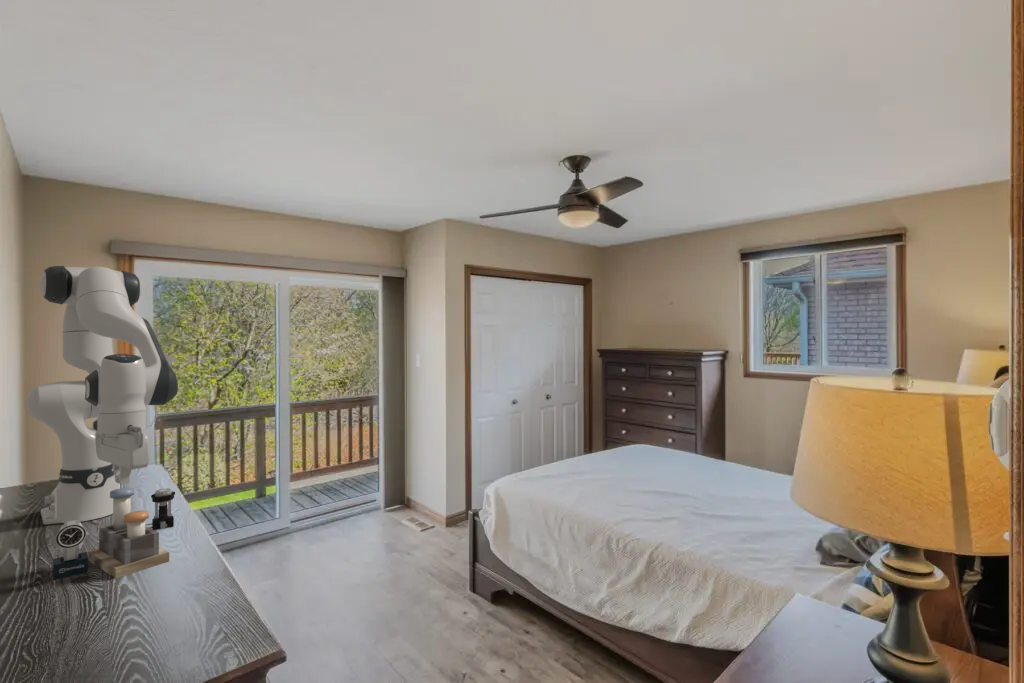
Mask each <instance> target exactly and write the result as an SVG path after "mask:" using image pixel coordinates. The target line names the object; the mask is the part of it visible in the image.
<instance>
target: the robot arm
mask: <svg viewBox="0 0 1024 683" xmlns="http://www.w3.org/2000/svg"><path fill="white" fill-rule="evenodd" d="M38 282H39V283H38V286H39V290H40V292H41V294H42V297H43V298H44V299H45V300H46V301H47V302H49V303H53V304H57V305H64V304H65V305H66V306H65V311H64V316H63V321H62V358H63V361H64V362H65V363H67V364H68V365H70V366H72V367H74V368H77V369H80V370H83V371H85V372H87V373H88V375H87V376H86V377H85V378H84V380H69V381H68V380H67V381H55V382H49V383H44V384H39V385H36V386H34V387H33V388H32V389H31V390H30V392H29V393H28V395H27V396H26V400H25V405H26V410H27V412H28V413H29V414H30V416H32V417H33V418H34V419H35V420H37V421H40V422H41V423H44V424H45V425H46V426H48V427H49V428H50V429H51V430H53V431H54V433H55V435H56V436H57V437H58V441H59V443H60V450H61V468H60V470H59V473H58V484H57V485H56V487H55V488H54V489H53V490H52V492H51V494H50V495H46V496H44V505H49V506H47V507H45V508H41V510H40V516H41V521H42V524H43V525H53V524H64V522H69V521H74V520H78V522H87V521H92V520H97V519H100V518H101V519H102V518H104V517H107V516H110V515H113V499H112V498H110V492H111V491H113V490H116V489H121V485H126V484H129V483H130V477H131V476H130V475H131V474H132V470H136V469H142V468H143V469H144V468H147V467H148V466H149V464H150V443H149V437H148V435H147V434H146V433H144V432H143V431H145V430H146V429H147V405H148V406H164V405H166V404H167V403H169V402H170V401H172V400H173V399H175V397H176V396H177V395H178V391H179V382H178V379H177V378H178V377H177V376H176V373H175V372H174V369H172V367H171V365H170V364H169V362H168V360H167V358H166V355H165V353H164V351H163V348H162V347H161V344H160V342H159V339H158V338H157V335H156V333H155V331H154V329H153V327H152V326H151V324H150V322H149V321H148V319H146V318H144V317H142V316H140V315H139V314H138V313H136V312H135V310H134V309H133V308H132V306H134V305H135V304H136V303H138V302H139V300H140V297H141V295H142V285H141V281H140V279H139V277H138V275H137V274H135V273H132V272H129V271H126V270H116V269H115V270H114V269H112V268H109V267H106V266H105V267H104V266H92V267H91V266H90V267H87V266H86V267H85V266H84V267H83V266H65V265H54V266H48V267H47V268H45V269H44V270H43V272H42V274H41V275H40V277H39V281H38ZM113 339H114V340H117V341H121V342H125V343H127V344H130V345H132V346H133V347H135V348H136V349H137V350H138V352H139V354H140V356H139V355H135V354H129V353H128V354H127V353H115V354H114V348H113ZM95 418H96V419H95ZM87 419H95V420H93V421H92V427H89V426H88V425H86V420H87ZM50 504H51V505H50Z"/></svg>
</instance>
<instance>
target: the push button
mask: <svg viewBox="0 0 1024 683" xmlns="http://www.w3.org/2000/svg"><path fill="white" fill-rule="evenodd" d="M175 495H176V492H175V491H172V488H161V489H157V490H155V491H154V493H153V494H151V495H150V498H151V500H152V502H153V503H154V516H153V518H152V521H151V523H147V524H146V523H145V527H148V526H149V528H151V529H153V530H155V531H157V530H161V529H167V528H173V527H174V524H175V519H174V518H175V517H174V515H173V513H172V500H173V499H175Z"/></svg>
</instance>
